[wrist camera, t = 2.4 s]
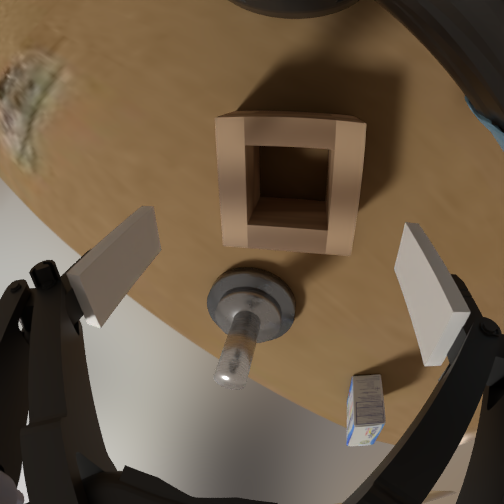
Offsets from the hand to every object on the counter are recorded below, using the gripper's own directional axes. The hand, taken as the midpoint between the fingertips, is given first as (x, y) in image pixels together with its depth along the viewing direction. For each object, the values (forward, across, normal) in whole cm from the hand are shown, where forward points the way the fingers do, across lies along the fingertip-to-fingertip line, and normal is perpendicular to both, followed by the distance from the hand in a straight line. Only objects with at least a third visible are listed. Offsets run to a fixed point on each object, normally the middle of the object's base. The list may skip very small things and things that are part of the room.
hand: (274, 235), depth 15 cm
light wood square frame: (+13, 0, 0) cm, 13 cm away
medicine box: (+13, +13, -32) cm, 37 cm away
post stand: (+13, -4, -16) cm, 21 cm away
